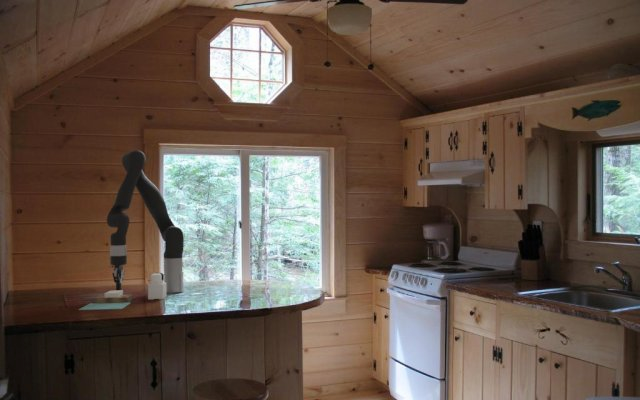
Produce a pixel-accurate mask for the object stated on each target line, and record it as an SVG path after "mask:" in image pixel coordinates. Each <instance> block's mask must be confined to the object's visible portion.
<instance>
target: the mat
mask: <svg viewBox="0 0 640 400" xmlns="http://www.w3.org/2000/svg"><path fill="white" fill-rule="evenodd" d="M131 303H132V301H130V302H128V303H94V302H93V303H92V302H91V303H88V304H87V305H85V306H82V307H81V308H79V309H78V311H96V310H97V311H100V310H123V309H124V308H126V307H127V306H129V305H130V304H131Z"/></svg>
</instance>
